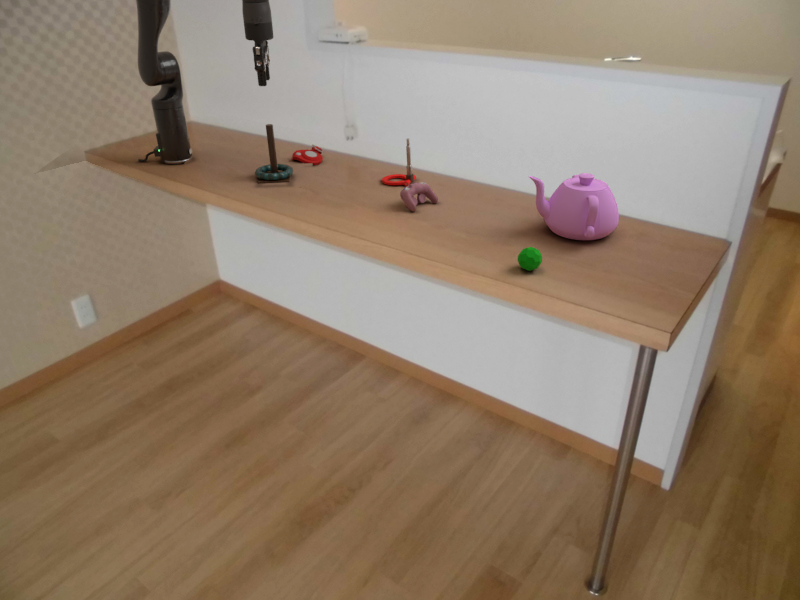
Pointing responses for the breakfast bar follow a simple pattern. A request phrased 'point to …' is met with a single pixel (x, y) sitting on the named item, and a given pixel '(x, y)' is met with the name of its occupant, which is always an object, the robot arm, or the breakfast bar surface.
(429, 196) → the video game controller
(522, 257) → the polyhedron
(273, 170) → the brown peg stand
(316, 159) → the tracker holder
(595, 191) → the teapot
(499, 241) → the breakfast bar surface
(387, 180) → the tow hook
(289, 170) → the ring
